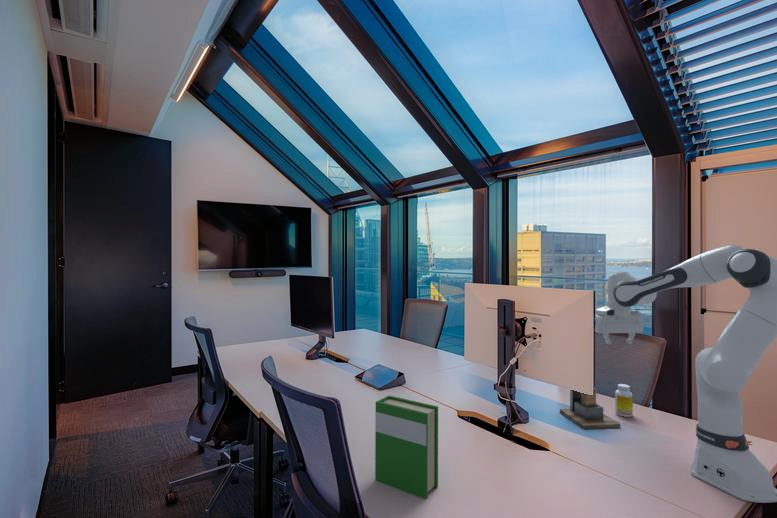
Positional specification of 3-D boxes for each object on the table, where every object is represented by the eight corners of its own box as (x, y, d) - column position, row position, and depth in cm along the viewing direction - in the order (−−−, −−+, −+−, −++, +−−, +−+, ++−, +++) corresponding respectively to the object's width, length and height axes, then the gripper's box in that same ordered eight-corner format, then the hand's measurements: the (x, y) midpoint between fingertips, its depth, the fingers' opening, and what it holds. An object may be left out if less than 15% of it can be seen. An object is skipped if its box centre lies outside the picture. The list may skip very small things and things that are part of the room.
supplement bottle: (635, 418, 174) (635, 388, 174) (618, 416, 175) (618, 387, 175) (629, 412, 180) (629, 383, 180) (613, 411, 181) (612, 382, 182)
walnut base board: (620, 427, 163) (620, 423, 163) (583, 429, 162) (583, 425, 162) (593, 411, 181) (593, 407, 181) (559, 412, 180) (559, 409, 180)
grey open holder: (603, 419, 168) (603, 385, 168) (585, 420, 167) (585, 386, 167) (587, 409, 180) (587, 378, 180) (570, 410, 179) (570, 378, 179)
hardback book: (437, 487, 119) (438, 406, 120) (426, 499, 113) (426, 414, 113) (388, 470, 129) (388, 395, 129) (375, 480, 123) (375, 401, 123)
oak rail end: (596, 417, 170) (596, 389, 170) (587, 418, 169) (587, 389, 170) (590, 414, 174) (590, 386, 174) (581, 414, 173) (581, 386, 174)
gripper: (636, 309, 173) (636, 341, 173) (591, 310, 171) (591, 342, 171) (647, 311, 167) (647, 344, 167) (600, 311, 165) (601, 345, 165)
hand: (618, 343), depth 169 cm, fingers open, 8 cm apart
